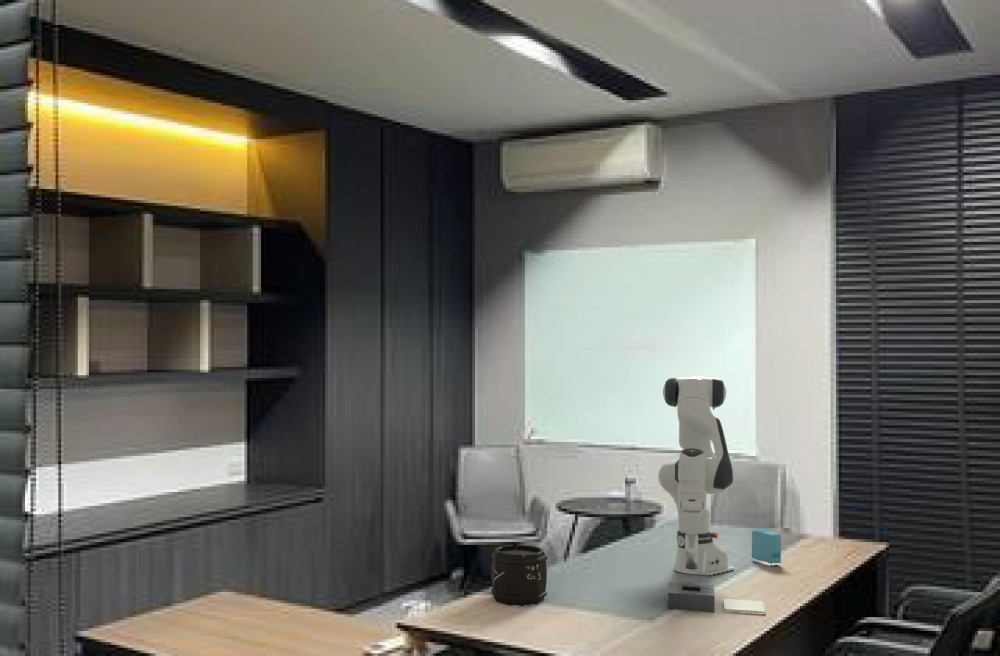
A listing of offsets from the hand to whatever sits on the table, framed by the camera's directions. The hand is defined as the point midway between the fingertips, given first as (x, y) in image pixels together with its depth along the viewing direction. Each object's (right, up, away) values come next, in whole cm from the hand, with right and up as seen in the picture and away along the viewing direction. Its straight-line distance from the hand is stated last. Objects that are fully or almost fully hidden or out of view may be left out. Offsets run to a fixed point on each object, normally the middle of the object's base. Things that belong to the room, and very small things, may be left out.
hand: (691, 545), depth 292 cm
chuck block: (0, -19, -1) cm, 19 cm away
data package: (+41, -21, +60) cm, 75 cm away
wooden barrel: (-55, -18, +3) cm, 58 cm away
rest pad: (+15, -19, -4) cm, 24 cm away
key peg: (0, -7, 0) cm, 7 cm away
